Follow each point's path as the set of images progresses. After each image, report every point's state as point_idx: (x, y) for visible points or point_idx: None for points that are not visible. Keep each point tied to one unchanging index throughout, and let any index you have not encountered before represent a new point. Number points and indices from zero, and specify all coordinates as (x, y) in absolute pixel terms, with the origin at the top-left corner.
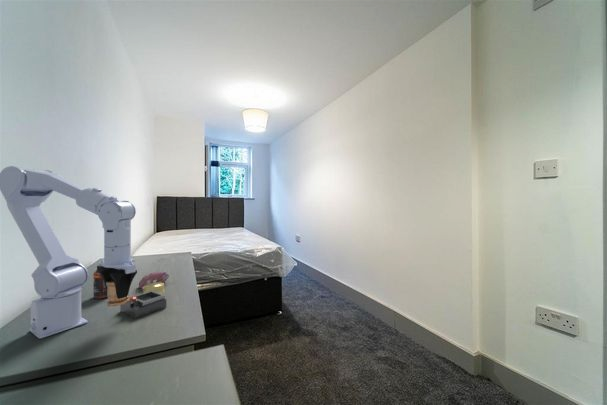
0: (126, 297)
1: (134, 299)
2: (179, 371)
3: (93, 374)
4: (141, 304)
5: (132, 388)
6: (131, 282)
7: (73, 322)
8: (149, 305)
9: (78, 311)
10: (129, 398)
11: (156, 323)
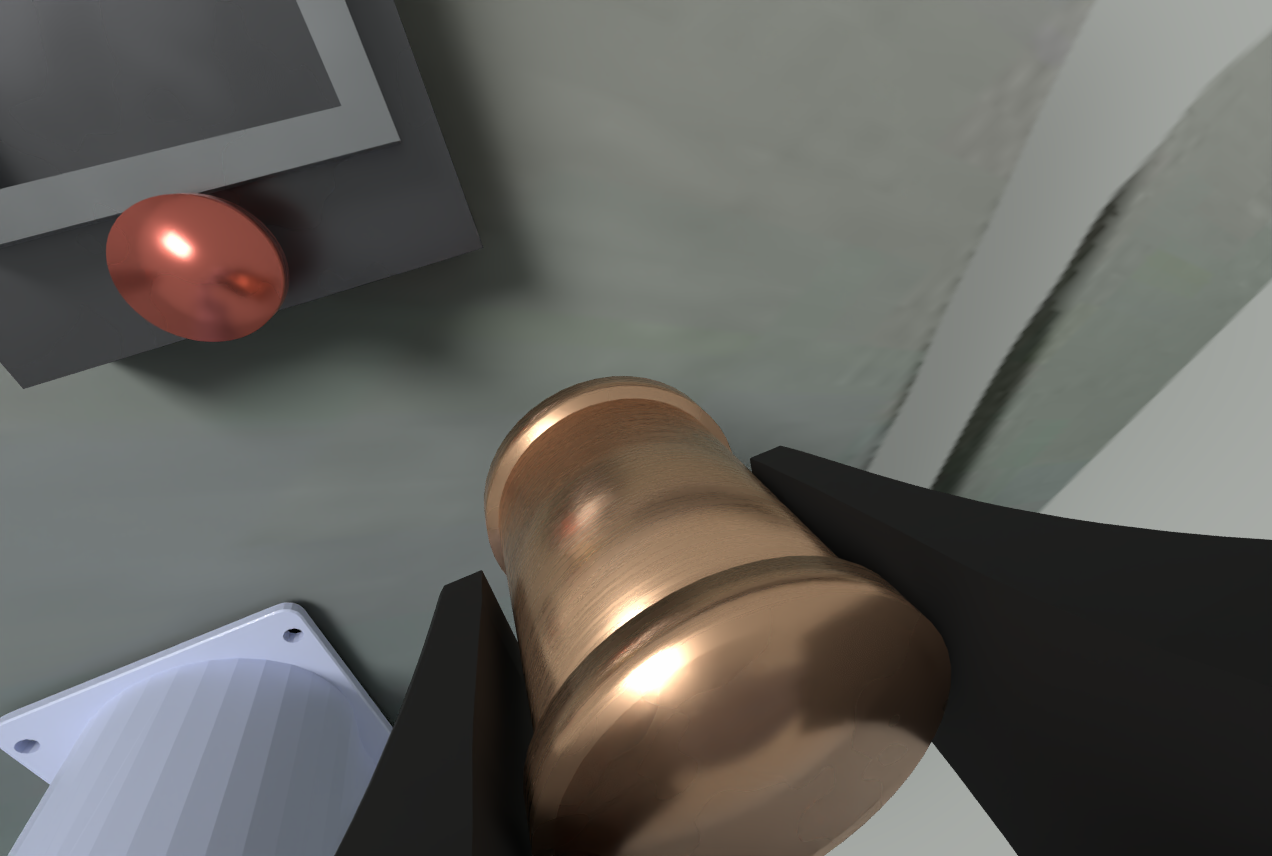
0: (718, 440)
1: (274, 245)
2: (1240, 186)
3: (970, 479)
4: (364, 152)
5: (1149, 361)
6: (1020, 510)
7: (319, 697)
8: (407, 44)
9: (253, 753)
10: (1174, 374)
11: (727, 95)
